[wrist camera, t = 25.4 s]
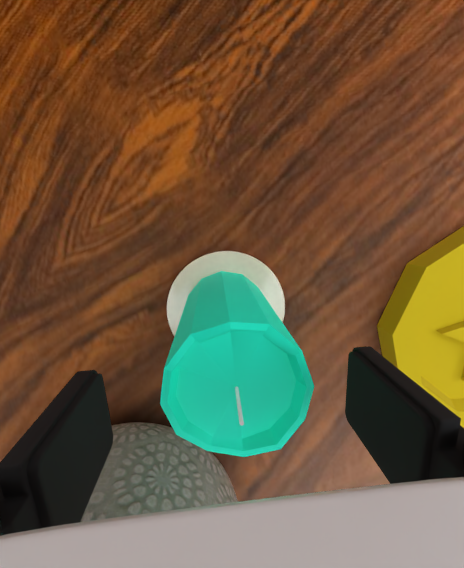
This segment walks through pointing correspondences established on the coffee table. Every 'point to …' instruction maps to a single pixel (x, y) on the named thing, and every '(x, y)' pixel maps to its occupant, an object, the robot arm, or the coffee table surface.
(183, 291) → the coaster
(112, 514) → the planter
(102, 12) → the coffee table surface
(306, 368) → the candle
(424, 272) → the decorative disc
